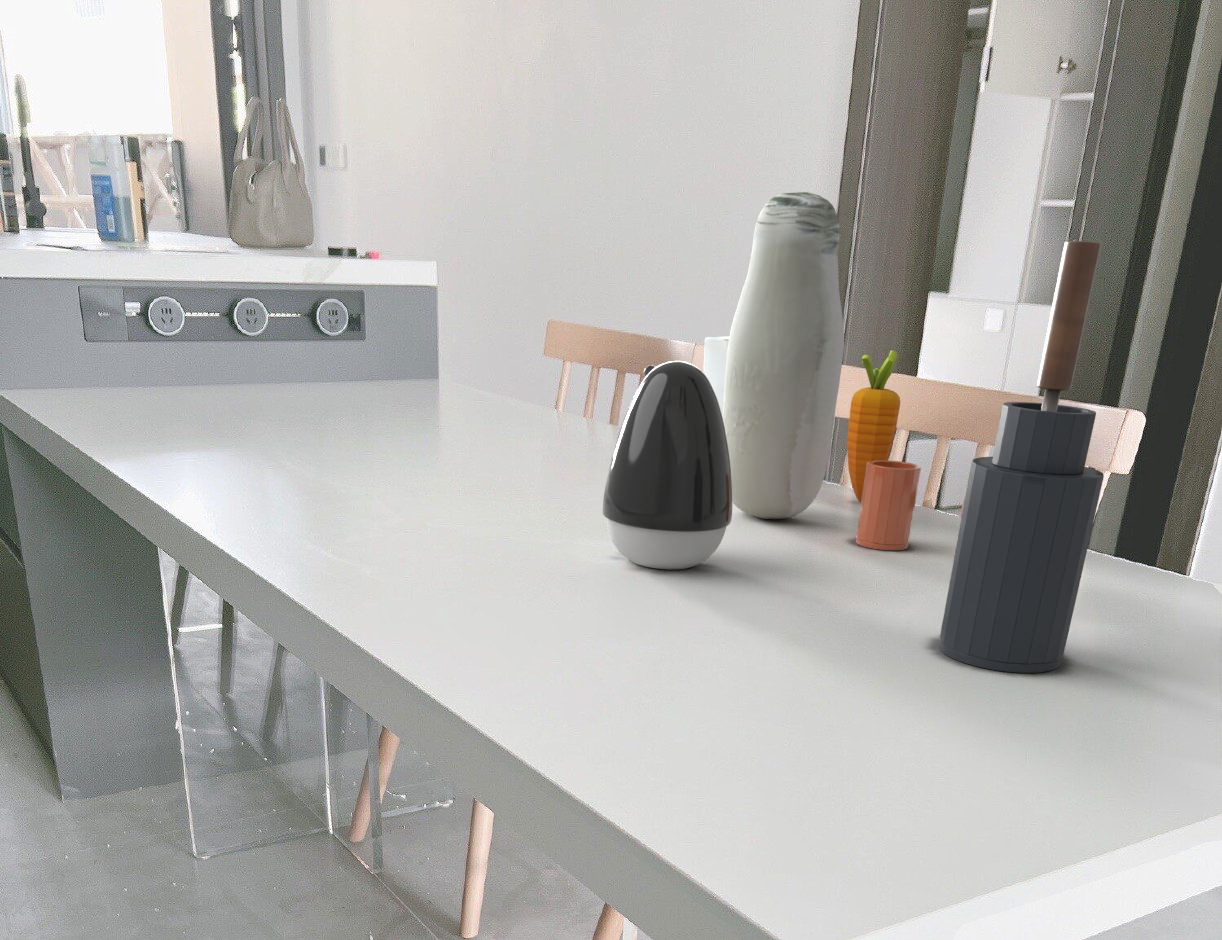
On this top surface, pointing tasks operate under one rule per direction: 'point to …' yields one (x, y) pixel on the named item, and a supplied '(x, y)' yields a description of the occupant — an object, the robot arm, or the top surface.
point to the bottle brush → (1067, 320)
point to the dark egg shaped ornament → (670, 472)
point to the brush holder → (887, 504)
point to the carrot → (871, 422)
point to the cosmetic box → (716, 365)
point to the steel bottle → (1023, 542)
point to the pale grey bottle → (785, 359)
